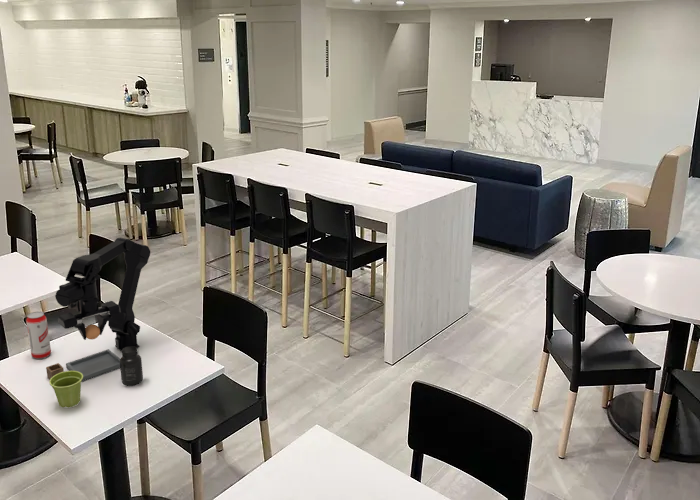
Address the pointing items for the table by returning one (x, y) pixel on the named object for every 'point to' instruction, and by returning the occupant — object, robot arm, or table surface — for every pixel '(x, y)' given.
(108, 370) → the tray
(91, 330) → the ball
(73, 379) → the plant pot
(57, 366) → the brown wooden open cube
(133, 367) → the supplement bottle
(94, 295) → the robot arm
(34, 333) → the beer can
